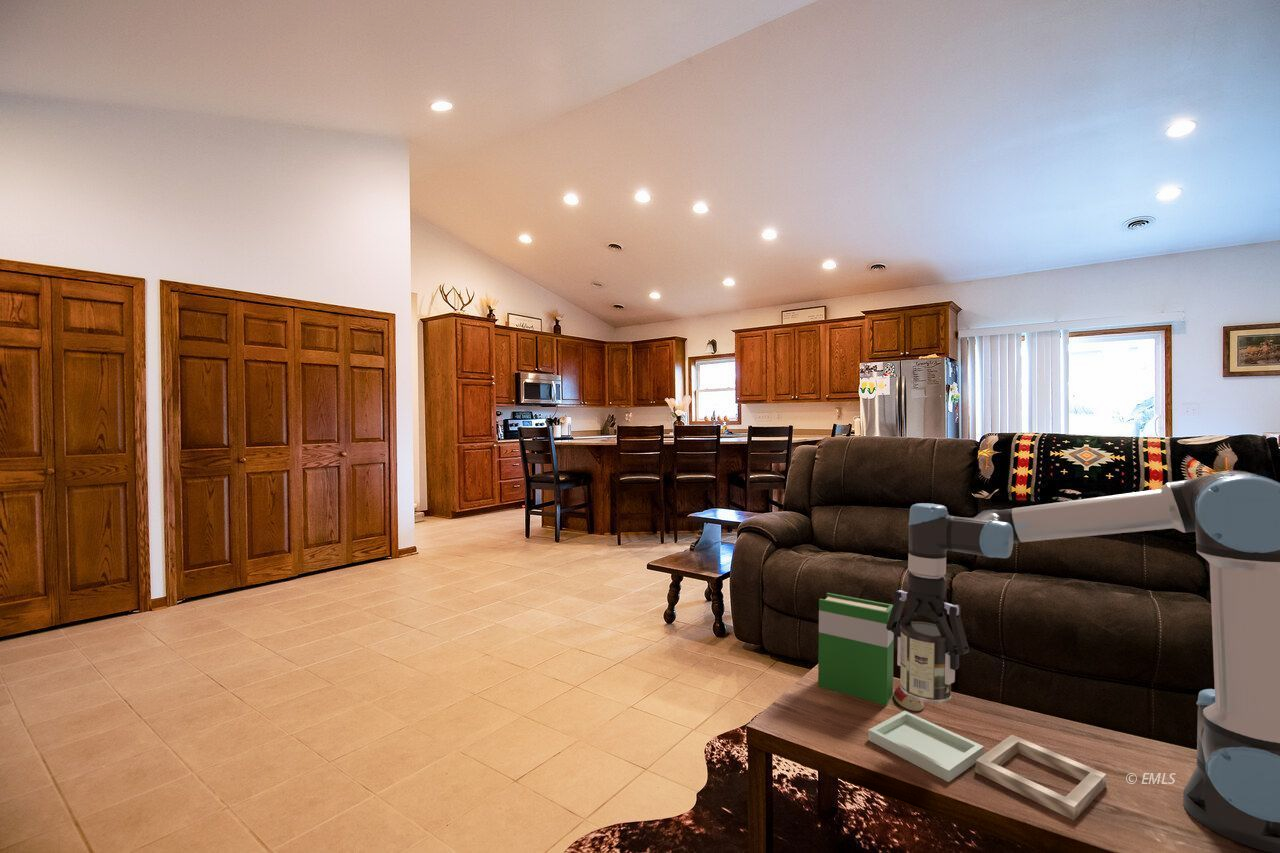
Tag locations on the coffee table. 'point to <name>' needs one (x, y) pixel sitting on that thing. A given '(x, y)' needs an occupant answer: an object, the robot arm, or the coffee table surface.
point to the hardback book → (855, 648)
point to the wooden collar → (1066, 806)
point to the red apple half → (907, 700)
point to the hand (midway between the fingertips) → (925, 673)
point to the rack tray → (926, 745)
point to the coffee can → (923, 663)
